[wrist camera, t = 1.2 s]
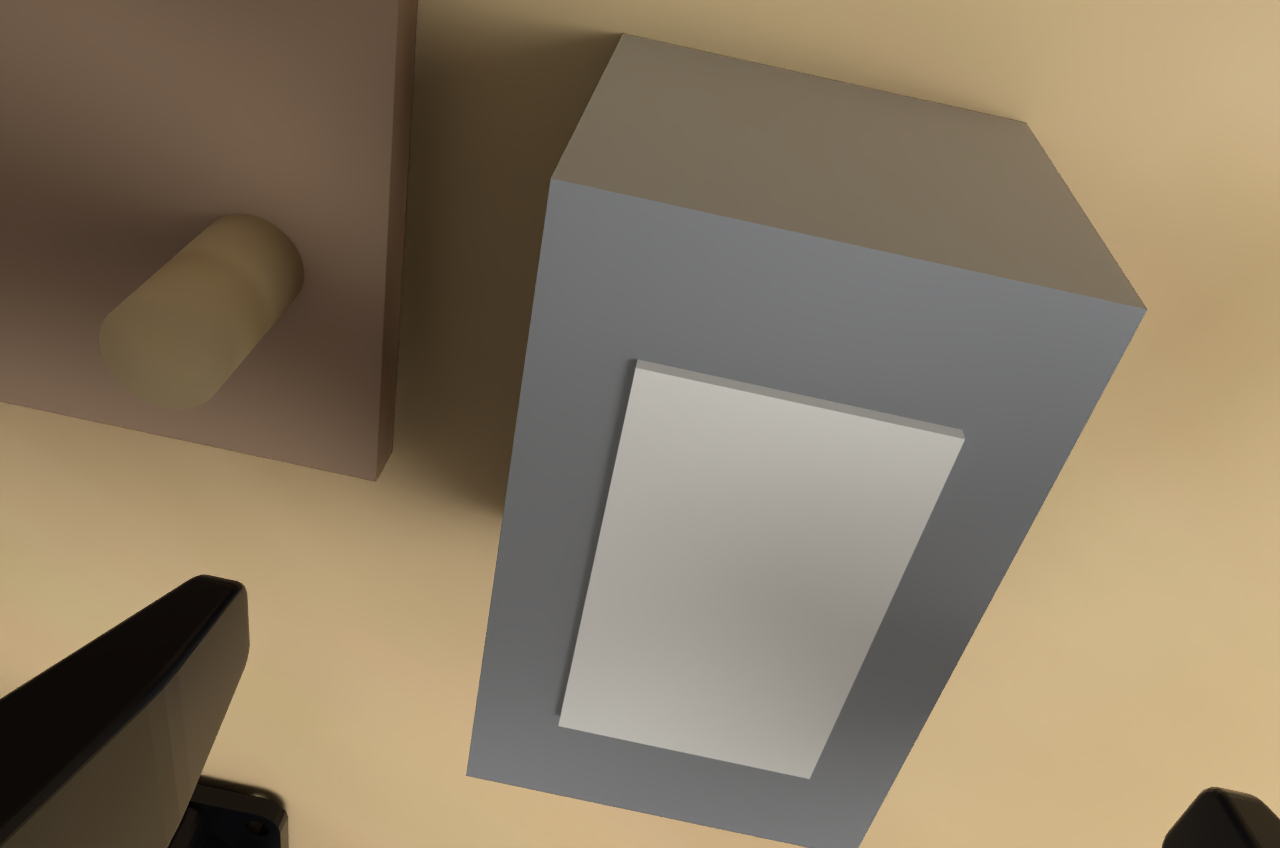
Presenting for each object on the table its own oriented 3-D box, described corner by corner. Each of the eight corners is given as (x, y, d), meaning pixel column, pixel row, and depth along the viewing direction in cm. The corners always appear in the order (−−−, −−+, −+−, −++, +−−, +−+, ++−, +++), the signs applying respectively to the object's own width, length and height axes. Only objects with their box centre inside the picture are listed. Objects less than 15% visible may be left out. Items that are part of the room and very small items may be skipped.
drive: (834, 585, 17) (853, 867, 13) (540, 522, 17) (462, 785, 13) (1024, 119, 12) (1153, 318, 8) (624, 29, 12) (547, 185, 8)
